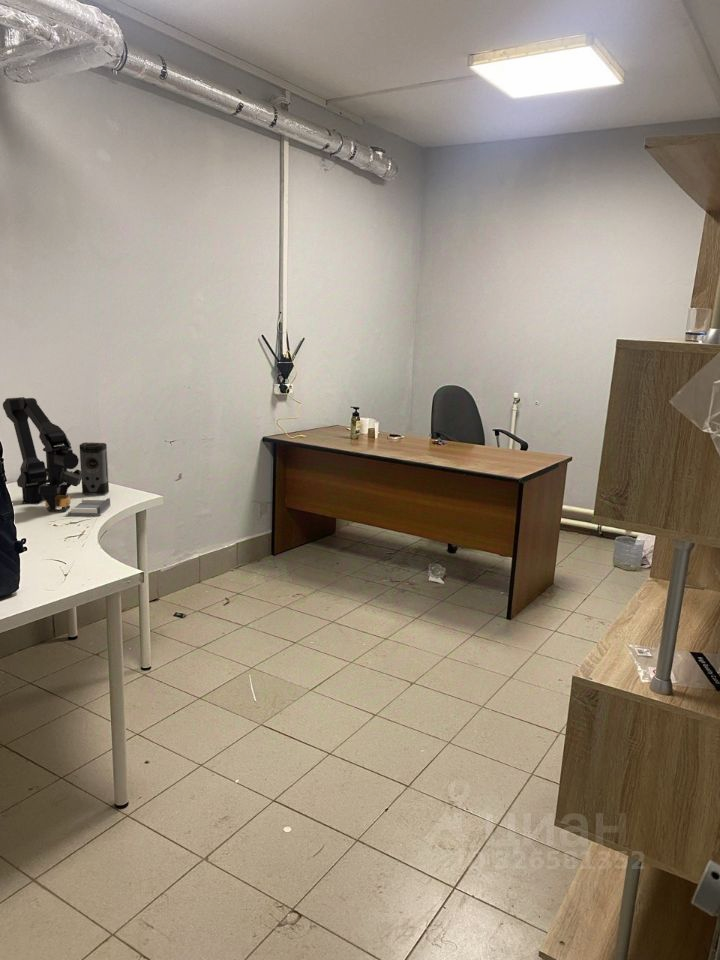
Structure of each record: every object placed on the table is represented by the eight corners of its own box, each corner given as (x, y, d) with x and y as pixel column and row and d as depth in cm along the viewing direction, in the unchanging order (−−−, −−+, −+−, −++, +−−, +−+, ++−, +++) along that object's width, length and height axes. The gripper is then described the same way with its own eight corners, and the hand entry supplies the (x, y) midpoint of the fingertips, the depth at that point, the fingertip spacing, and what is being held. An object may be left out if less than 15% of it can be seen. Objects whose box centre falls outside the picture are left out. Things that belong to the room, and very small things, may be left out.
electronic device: (81, 495, 268) (78, 444, 264) (86, 491, 274) (83, 442, 269) (105, 495, 269) (102, 445, 264) (110, 491, 274) (107, 442, 270)
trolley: (46, 512, 245) (45, 498, 244) (51, 508, 250) (50, 495, 248) (66, 512, 246) (65, 498, 244) (70, 508, 250) (70, 495, 249)
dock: (68, 515, 242) (67, 507, 241) (80, 505, 254) (79, 497, 254) (100, 516, 243) (99, 507, 242) (110, 506, 255) (110, 498, 254)
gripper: (69, 471, 235) (72, 514, 239) (87, 459, 253) (89, 500, 257) (36, 470, 234) (39, 514, 238) (55, 459, 252) (58, 500, 256)
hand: (58, 507), depth 247 cm, fingers open, 9 cm apart
